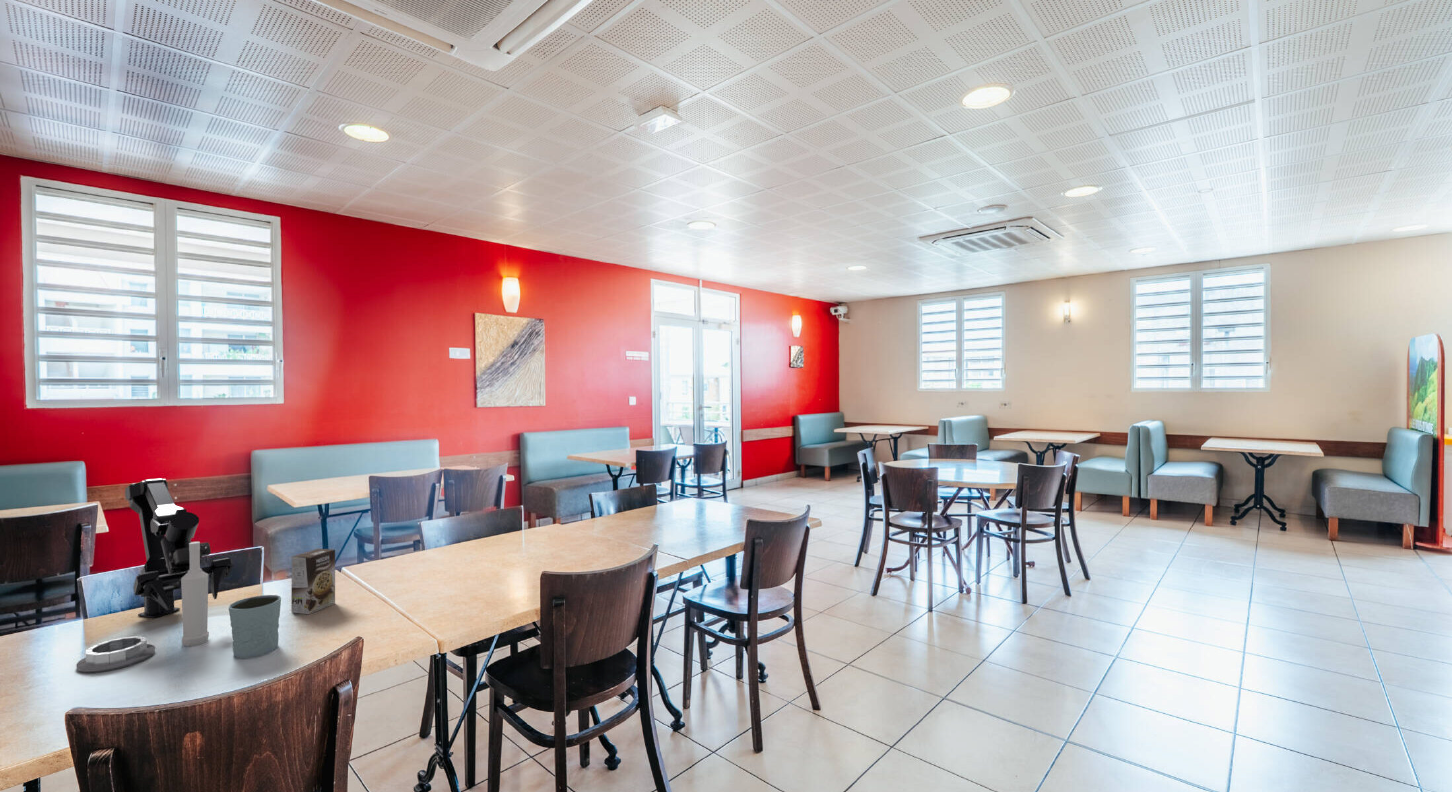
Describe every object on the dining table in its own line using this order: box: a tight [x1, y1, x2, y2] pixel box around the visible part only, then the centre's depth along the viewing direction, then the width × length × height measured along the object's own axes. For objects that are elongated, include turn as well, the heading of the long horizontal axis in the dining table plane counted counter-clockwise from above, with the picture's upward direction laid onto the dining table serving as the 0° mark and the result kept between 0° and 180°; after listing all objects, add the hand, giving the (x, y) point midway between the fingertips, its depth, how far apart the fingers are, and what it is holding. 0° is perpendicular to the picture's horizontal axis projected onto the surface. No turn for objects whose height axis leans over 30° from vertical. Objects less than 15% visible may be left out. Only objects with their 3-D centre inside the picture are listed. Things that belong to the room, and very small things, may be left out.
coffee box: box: [290, 548, 336, 615], centre depth 176 cm, size 9×6×16 cm
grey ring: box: [75, 635, 156, 674], centre depth 142 cm, size 13×13×4 cm
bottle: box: [180, 541, 210, 647], centre depth 152 cm, size 5×5×25 cm
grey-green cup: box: [228, 594, 282, 659], centre depth 148 cm, size 10×10×12 cm
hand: (192, 603), depth 153 cm, fingers open, 9 cm apart
